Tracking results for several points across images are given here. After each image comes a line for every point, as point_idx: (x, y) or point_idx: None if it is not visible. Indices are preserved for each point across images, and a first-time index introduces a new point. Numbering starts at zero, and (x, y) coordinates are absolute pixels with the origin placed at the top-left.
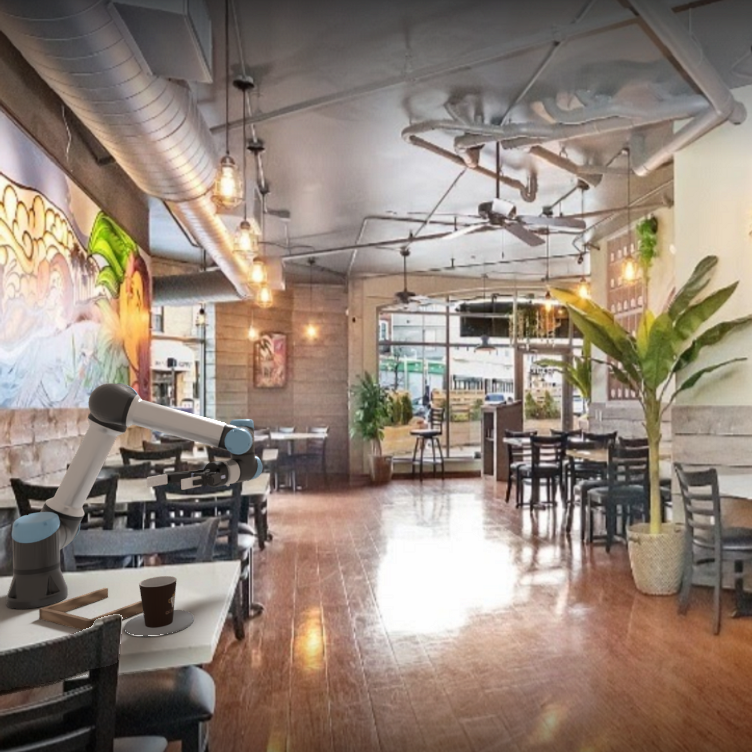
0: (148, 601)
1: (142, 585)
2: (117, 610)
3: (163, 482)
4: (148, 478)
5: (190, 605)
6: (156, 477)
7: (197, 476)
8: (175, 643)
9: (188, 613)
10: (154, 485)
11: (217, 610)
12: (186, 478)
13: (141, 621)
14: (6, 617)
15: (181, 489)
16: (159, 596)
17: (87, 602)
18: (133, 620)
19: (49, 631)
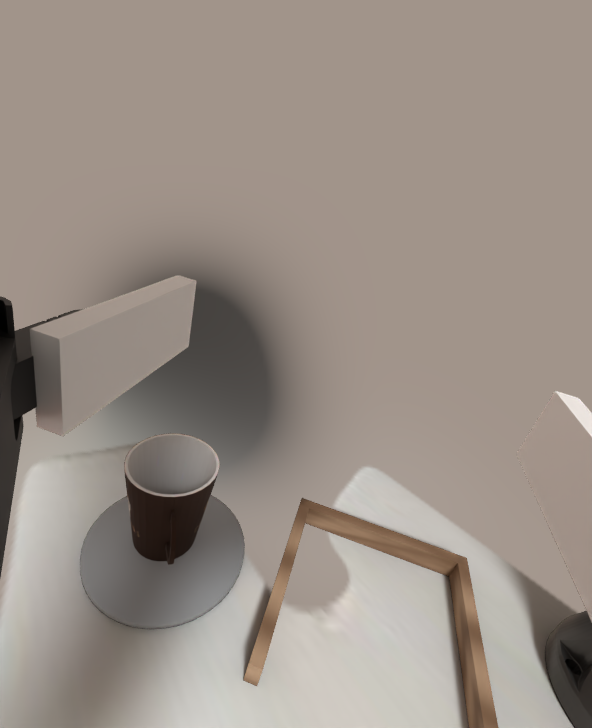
0: (180, 463)
1: (214, 470)
2: (288, 552)
3: (584, 561)
4: (552, 398)
5: (118, 715)
6: (583, 446)
7: (81, 329)
8: (100, 468)
9: (101, 596)
10: (536, 486)
11: (2, 667)
12: (168, 290)
13: (212, 541)
14: (528, 577)
15: (186, 345)
16: (155, 456)
17: (465, 684)
18: (234, 546)
19: (372, 515)
